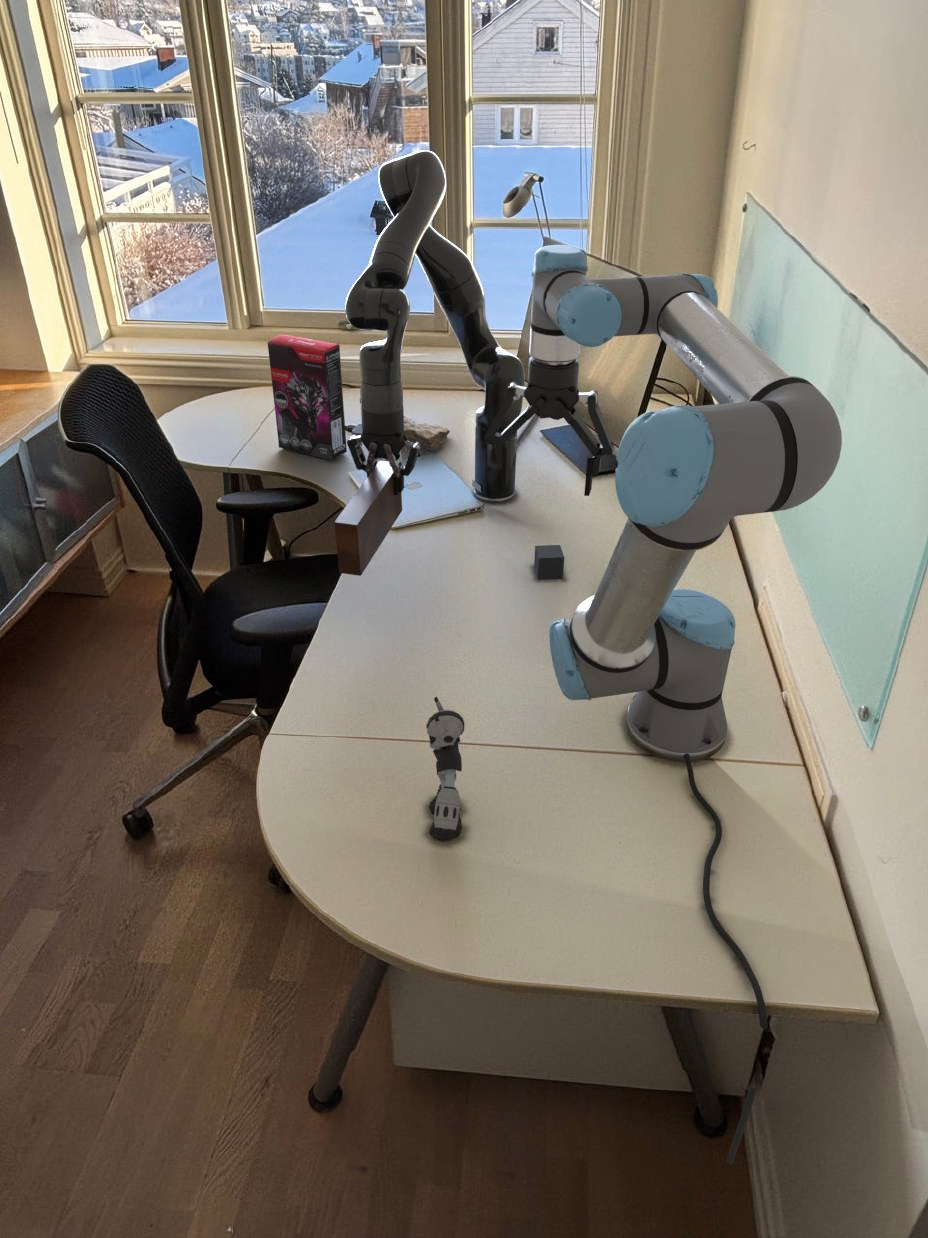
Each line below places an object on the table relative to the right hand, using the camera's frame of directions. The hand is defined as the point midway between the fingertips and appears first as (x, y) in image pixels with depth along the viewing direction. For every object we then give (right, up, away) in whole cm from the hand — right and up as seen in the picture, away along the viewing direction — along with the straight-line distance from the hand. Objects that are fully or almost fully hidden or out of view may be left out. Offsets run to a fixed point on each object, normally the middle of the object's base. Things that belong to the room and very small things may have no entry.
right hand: (546, 487), depth 149 cm
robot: (-16, -49, -22) cm, 56 cm away
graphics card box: (-51, +21, +82) cm, 98 cm away
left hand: (-28, +2, +23) cm, 36 cm away
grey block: (+3, -12, +33) cm, 36 cm away
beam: (-30, -7, +19) cm, 36 cm away
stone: (-28, +25, +88) cm, 95 cm away
